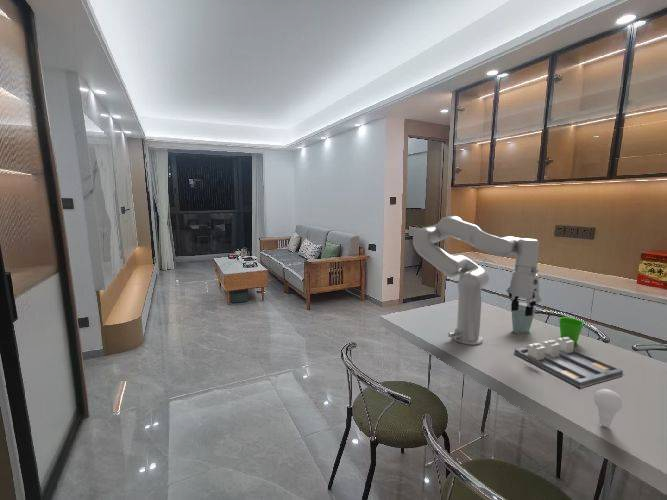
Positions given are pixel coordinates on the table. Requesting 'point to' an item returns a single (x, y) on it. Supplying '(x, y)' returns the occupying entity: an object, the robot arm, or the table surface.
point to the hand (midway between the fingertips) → (521, 312)
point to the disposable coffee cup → (521, 318)
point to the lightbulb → (607, 405)
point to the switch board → (573, 367)
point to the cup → (570, 328)
